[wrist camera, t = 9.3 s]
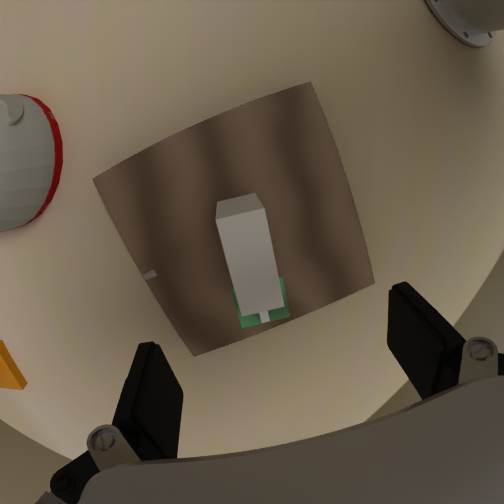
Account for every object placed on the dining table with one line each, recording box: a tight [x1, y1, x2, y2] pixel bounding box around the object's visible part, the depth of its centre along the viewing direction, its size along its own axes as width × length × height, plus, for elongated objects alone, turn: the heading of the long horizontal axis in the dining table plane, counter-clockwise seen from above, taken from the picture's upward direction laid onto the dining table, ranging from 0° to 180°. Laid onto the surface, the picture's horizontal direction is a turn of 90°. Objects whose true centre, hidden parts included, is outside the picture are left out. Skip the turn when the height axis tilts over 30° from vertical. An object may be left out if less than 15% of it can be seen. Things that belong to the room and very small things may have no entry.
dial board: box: [93, 82, 375, 356], centre depth 27 cm, size 20×20×2 cm
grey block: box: [215, 193, 285, 323], centre depth 24 cm, size 12×3×7 cm, turn 12°
